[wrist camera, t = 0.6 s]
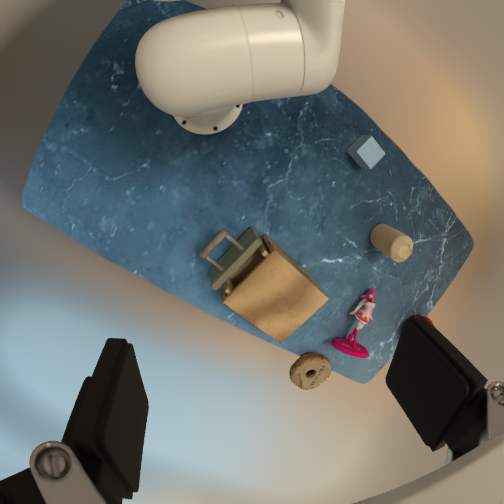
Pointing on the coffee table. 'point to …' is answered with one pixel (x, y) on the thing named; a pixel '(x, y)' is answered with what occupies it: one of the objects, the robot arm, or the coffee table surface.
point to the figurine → (357, 328)
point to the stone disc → (310, 370)
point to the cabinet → (276, 294)
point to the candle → (391, 242)
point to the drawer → (235, 258)
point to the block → (366, 152)
